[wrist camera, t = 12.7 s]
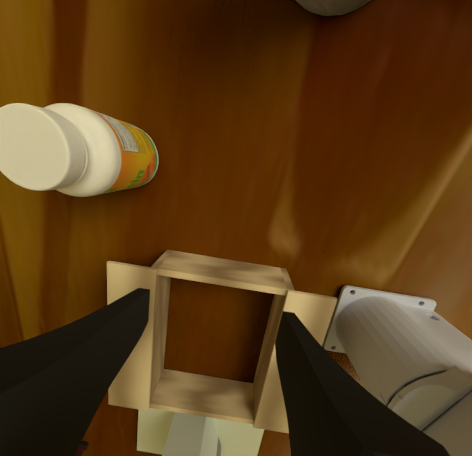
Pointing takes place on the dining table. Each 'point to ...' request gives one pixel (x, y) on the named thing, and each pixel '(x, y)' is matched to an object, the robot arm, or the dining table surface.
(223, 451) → the sage board
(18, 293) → the dining table surface
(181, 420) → the block
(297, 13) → the dining table surface
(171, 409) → the carton
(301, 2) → the pillar candle
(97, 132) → the supplement bottle
